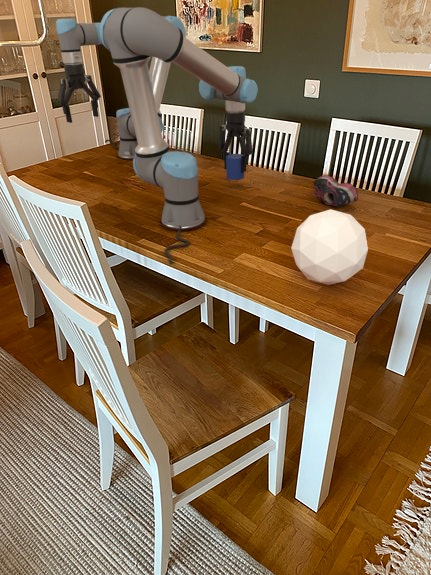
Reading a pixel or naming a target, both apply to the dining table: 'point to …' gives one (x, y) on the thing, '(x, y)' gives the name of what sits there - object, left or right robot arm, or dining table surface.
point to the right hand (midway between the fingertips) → (235, 170)
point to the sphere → (330, 247)
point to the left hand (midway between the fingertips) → (83, 119)
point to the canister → (234, 167)
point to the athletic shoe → (334, 191)
